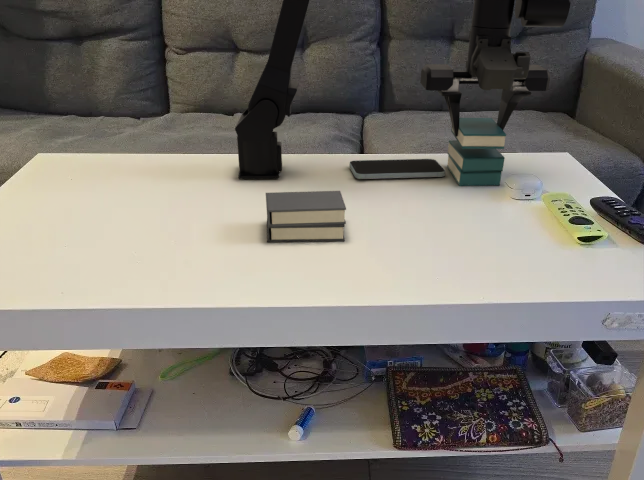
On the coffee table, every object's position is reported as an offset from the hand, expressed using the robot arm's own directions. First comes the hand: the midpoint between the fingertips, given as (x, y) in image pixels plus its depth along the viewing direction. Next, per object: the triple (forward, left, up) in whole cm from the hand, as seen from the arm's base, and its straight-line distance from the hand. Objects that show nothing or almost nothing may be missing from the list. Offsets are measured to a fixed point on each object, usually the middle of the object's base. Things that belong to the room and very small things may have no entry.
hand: (476, 135), depth 106 cm
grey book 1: (-28, -23, -4) cm, 36 cm away
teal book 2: (0, 0, -4) cm, 4 cm away
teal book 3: (0, 0, -6) cm, 6 cm away
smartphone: (-12, +2, -6) cm, 14 cm away
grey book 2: (-28, -23, -6) cm, 37 cm away
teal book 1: (0, 0, -1) cm, 1 cm away
